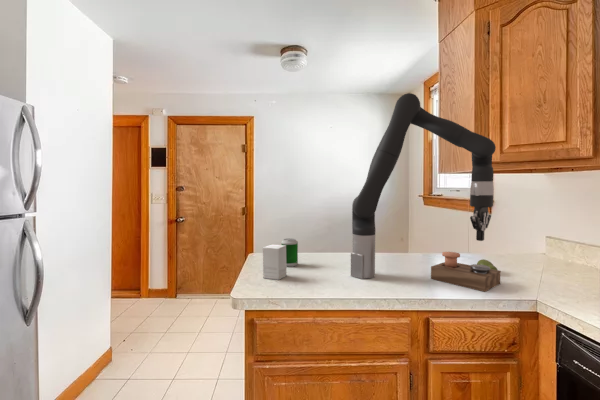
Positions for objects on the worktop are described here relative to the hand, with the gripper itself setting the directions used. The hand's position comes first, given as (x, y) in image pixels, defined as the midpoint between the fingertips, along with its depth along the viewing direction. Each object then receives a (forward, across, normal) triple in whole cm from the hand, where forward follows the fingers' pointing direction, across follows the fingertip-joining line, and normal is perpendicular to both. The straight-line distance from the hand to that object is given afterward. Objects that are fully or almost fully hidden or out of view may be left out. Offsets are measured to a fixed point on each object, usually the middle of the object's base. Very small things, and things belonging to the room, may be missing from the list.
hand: (480, 240), depth 121 cm
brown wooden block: (+17, 0, -5) cm, 17 cm away
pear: (+17, -20, -4) cm, 26 cm away
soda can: (+17, +37, -68) cm, 79 cm away
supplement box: (+17, +53, -57) cm, 80 cm away
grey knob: (+15, 0, 0) cm, 15 cm away
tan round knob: (+12, 0, -11) cm, 16 cm away
